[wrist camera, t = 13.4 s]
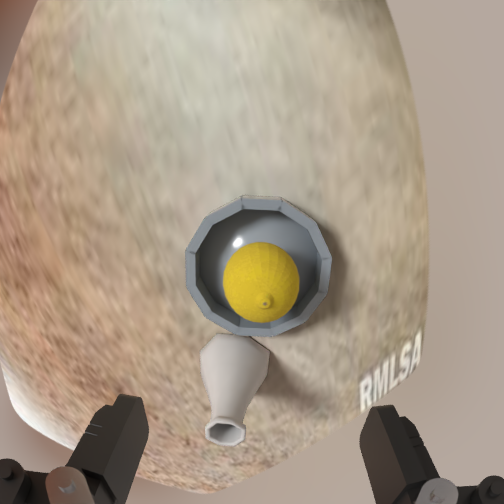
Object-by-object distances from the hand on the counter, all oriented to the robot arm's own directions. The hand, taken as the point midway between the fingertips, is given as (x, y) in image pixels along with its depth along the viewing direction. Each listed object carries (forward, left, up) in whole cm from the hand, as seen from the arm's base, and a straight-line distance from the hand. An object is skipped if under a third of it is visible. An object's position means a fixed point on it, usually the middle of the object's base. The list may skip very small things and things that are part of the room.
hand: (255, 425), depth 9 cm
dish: (0, 0, -18) cm, 18 cm away
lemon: (0, 0, -18) cm, 18 cm away
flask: (+11, -2, -19) cm, 21 cm away
